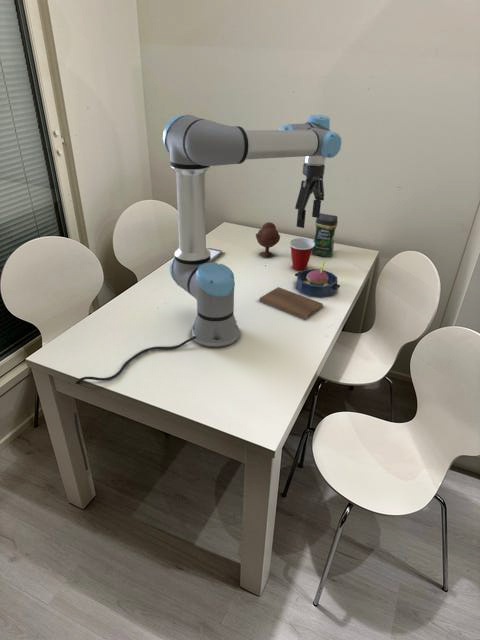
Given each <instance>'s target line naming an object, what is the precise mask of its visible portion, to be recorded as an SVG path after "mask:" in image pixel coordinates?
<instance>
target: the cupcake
mask: <svg viewBox="0 0 480 640" xmlns="http://www.w3.org/2000/svg"><path fill="white" fill-rule="evenodd" d="M325 264H326V260H323V262H322V265H321V267H320V269H318V270H315V271H314V270H313V271H310V272H309V273H308V274H307V276H306V278H307V280H306V281H308V284H310V285H316V286H325V284H326V283H327V281H328V275H327V274H326V273H325V272H323V271H322V270H324V267H325ZM327 284H328V283H327Z"/></svg>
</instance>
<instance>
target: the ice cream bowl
mask: <svg viewBox="0 0 480 640" xmlns="http://www.w3.org/2000/svg"><path fill="white" fill-rule="evenodd" d="M255 238H256V240H257V243H258V244H259V245H260V246H262V247H263V248H264V251H262V252H261V253H260V257H262V258H266V259H268V258H272V257H273V253H272V252H271V251H270V248H273V247H274V246H276V245H277V244H278V243H279V242H280V239H281V235H280V233H279V231H278V230H277V227H276V225H275V224H274V223H273V222H269V221H268V222H265V223H264V224H263V225H262V227H261V228H260V229H259V230H258V232H257V233H256V234H255Z"/></svg>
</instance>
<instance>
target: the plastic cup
mask: <svg viewBox="0 0 480 640" xmlns="http://www.w3.org/2000/svg"><path fill="white" fill-rule="evenodd" d="M288 245H289V246H290V252H291V253H290V254H291V262H292V269H293V270H294V271H298V272H299V271H300V272H301V271H303V270H307V268H308V264H309V262H310V258H311V255H312V249H313V247H314V246H315V242H314V240H312V239H311V238H307V237H294V238H291V239H290V240H289V242H288Z"/></svg>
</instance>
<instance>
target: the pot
mask: <svg viewBox="0 0 480 640" xmlns="http://www.w3.org/2000/svg"><path fill="white" fill-rule="evenodd" d="M313 270H314V271H315V270H319V269H316V268H310V269H306V270H303V271H298V272H295V274H294V277H296V286H295V288H296V290H297V291H298V292H299V293H300V294H303V295H305V296H308V297H314V298H315V297H316V298H325V297H331V296H332V295H334V294H335V293H337V290H339V288H341V284H339V283H338V281H339V279H338V276H337V275H336V274H334V273H333V272H331V271H328V270H325V269H323V270H322V271H323V272H325V273H326V274H327V275H328V281H327V284H326V285H324V286H316V285H310V283H309V282H308V283H307V282H306V281H308V280H307V278H306V276H307V274H308V273H309V272H310V271H313Z"/></svg>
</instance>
